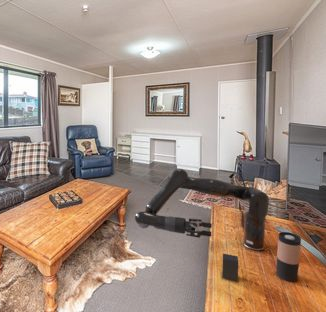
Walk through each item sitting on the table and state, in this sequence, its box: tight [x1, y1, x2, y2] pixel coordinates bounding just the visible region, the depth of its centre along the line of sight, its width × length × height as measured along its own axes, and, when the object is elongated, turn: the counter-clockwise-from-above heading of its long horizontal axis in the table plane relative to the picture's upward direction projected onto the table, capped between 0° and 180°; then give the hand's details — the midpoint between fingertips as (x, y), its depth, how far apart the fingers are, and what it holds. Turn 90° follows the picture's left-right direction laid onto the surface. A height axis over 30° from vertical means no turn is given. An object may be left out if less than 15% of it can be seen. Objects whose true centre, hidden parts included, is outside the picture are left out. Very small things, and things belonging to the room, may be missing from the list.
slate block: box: [221, 253, 239, 282], centre depth 106 cm, size 4×6×10 cm
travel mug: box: [276, 231, 302, 283], centre depth 103 cm, size 8×8×20 cm
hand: (211, 229), depth 107 cm, fingers open, 8 cm apart
